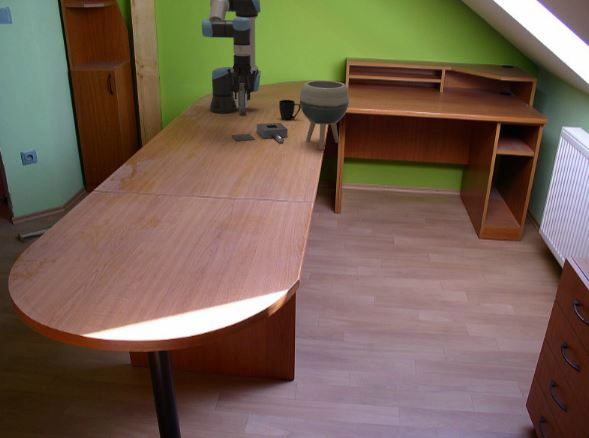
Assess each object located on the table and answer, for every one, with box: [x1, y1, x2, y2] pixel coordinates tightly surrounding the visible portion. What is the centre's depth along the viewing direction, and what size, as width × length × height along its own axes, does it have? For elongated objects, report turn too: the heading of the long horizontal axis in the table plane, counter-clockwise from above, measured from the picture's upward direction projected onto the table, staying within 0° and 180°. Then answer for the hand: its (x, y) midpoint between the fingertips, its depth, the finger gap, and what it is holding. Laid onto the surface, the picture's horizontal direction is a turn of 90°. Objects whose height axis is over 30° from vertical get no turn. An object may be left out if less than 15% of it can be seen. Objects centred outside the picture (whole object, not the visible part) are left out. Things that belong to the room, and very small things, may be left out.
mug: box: [278, 99, 301, 121], centre depth 290 cm, size 8×12×10 cm
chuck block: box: [256, 122, 288, 144], centre depth 260 cm, size 21×12×4 cm, turn 20°
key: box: [238, 83, 247, 117], centre depth 250 cm, size 3×6×14 cm, turn 170°
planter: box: [299, 79, 350, 151], centre depth 247 cm, size 22×22×28 cm
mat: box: [231, 133, 256, 142], centre depth 258 cm, size 9×9×1 cm
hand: (242, 106), depth 252 cm, fingers closed on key, 3 cm apart
